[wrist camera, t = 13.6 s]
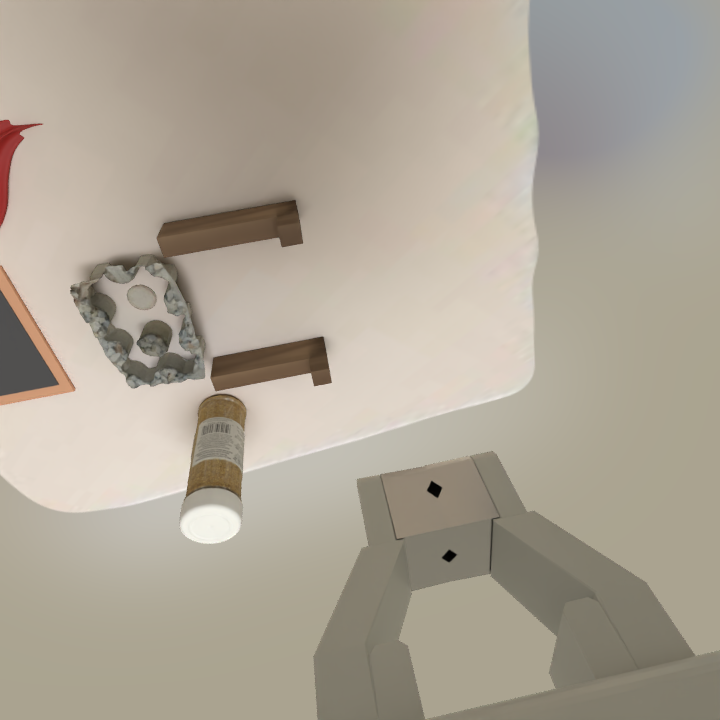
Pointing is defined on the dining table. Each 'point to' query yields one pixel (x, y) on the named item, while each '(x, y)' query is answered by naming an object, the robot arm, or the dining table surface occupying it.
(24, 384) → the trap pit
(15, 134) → the cayenne pepper
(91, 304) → the egg carton
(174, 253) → the walled channel
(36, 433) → the dining table surface
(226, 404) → the sprinkles bottle
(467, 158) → the dining table surface
